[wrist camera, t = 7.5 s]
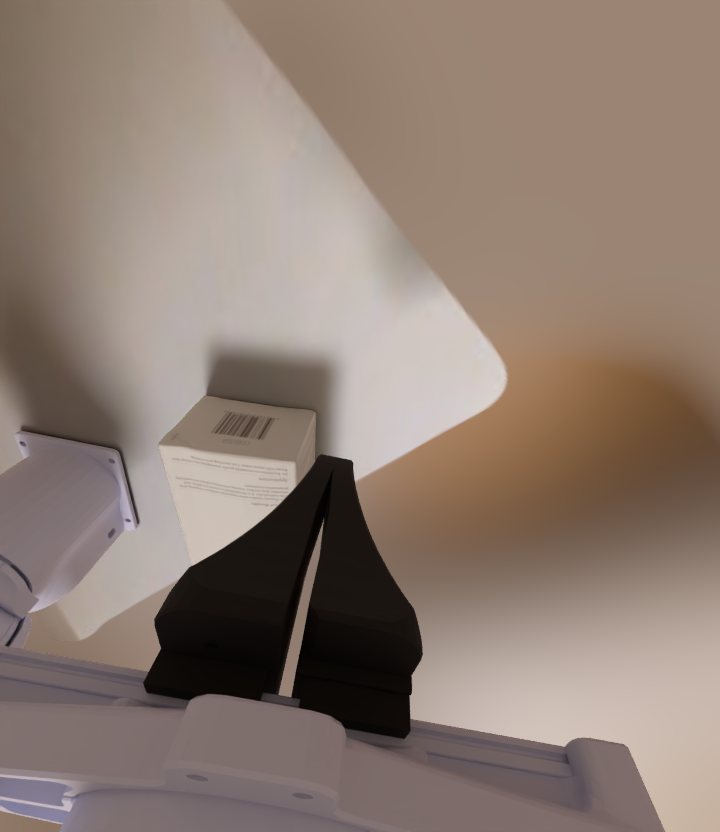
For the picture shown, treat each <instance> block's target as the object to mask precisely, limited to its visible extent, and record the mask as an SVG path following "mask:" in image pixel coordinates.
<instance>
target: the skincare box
mask: <svg viewBox="0 0 720 832" xmlns="http://www.w3.org/2000/svg"><path fill="white" fill-rule="evenodd" d="M315 438H316V412H314V411H312V410H307V409H295V408H285V407H275V406H268V405H262V404H255V403H249V402H242V401H235V400H228V399H222V398H219V397H212V396H204V397H203V398H202V399H201V400H200V401H199V402H198V403H197V404H196V405H195V406H194V407H193V408H192V409H191V410H190V411H189V412H188V413H187V414H186V416H185V417H184V418H183V419H182V420H181V421H180V422H179V423H178V424H177V425H176V426H175V427H174V428H173V429H172V430H171V431H170V432H169V433H168V434H167V435H165V436H164V438H163V439H162V440H161V441H160V442H159V444H158V447H159V450H160V454H161V458H162V461H163V465H164V468H165V472H166V476H167V479H168V483H169V486H170V489H171V493H172V497H173V500H174V504H175V507H176V511H177V515H178V518H179V522H180V526H181V529H182V533H183V537H184V540H185V544H186V548H187V551H188V555H189V559H190V562H191V566H193V565H195V564H196V563H198V562H200V561H202V560H203V559H205V558H207V557H209V556H210V555H212V554H214V553H216V552H217V551H219V550H221V549H222V548H224V547H225V546H227V545H228V544H230V543H231V542H233V541H234V540H236V539H237V538H239V537H240V536H242V535H243V534H244V533H246V532H247V531H248V530H250V529H251V528H252V527H254V526H255V525H256V524H257V523H259V522H260V521H261V520H262V519H264V518H265V517H266V516H267V515H268V514H269V513H270V512H272V511H273V510H274V509H275V508H276V507H277V506H278V505H279V504H280V503H281V502H282V501H283V500H284V499H285V498H286V497H287V496H288V495H289V494H290V493H291V492H292V491H293V490H294V488H295V487H296V486H297V485H298V484H299V483H300V481H301V480H302V479H303V478H304V476H305V475H306V474H307V473H308V471H309V470H310V468H311V467H312V466H313V464H314V462H315ZM306 573H307V572H306ZM305 577H306V576H305ZM304 581H305V580H304ZM303 586H304V584H303ZM302 590H303V588H302ZM301 594H302V592H301ZM300 598H301V597H300ZM299 603H300V601H299Z"/></svg>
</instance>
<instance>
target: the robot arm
mask: <svg viewBox="0 0 720 832" xmlns="http://www.w3.org/2000/svg"><path fill="white" fill-rule="evenodd" d="M14 437H15V439H16V442H17V444H18V446H19V448H20V451H21V453H22V455H23V457H24V460H22V461H21V462H19V463H18V464H16V465H14V466H13V467H11V468H10V469H8V470H7V471H5V472H4V473H2V474H1V475H0V811H4V812H8V813H13V814H17V815H22V816H27V817H31V818H36V819H40V820H45V821H50V822H54V823H59V824H63V825H62V827H61V828H60V831H59V832H665V830H664V828H663V826H662V824H661V821H660V819H659V817H658V815H657V812H656V810H655V808H654V805H653V803H652V801H651V799H650V797H649V794H648V792H647V790H646V787H645V785H644V783H643V781H642V778H641V776H640V774H639V772H638V769H637V767H636V765H635V762H634V760H633V758H632V756H631V753H630V751H629V749H628V747H626V746H625V745H624V744H619V743H614V742H608V741H603V740H597V739H591V738H577V739H574V740H572V741H570V742H569V743H568V744H567V745H566V746H565V747H562V746H557V745H551V744H546V743H540V742H535V741H529V740H524V739H518V738H513V737H507V736H502V735H496V734H491V733H485V732H479V731H474V730H468V729H463V728H457V727H451V726H446V725H440V724H435V723H430V722H424V721H418V720H413V719H410V701H409V700H410V698H409V695H411V693H412V677H411V675H412V674H413V672H414V671H415V669H416V667H417V666H418V664H419V662H420V661H421V658H422V655H423V653H422V641H421V635H420V630H419V626H418V621H417V618H416V614H415V611H414V609H413V607H412V606H411V604H410V603H409V602H408V600H407V599H406V597H405V596H404V594H403V593H402V592H401V590H400V588H399V587H398V585H397V584H396V582H395V581H394V579H393V577H392V576H391V574H390V572H389V570H388V569H387V567H386V565H385V563H384V561H383V559H382V557H381V556H380V554H379V552H378V550H377V548H376V545H375V543H374V541H373V539H372V537H371V534H370V532H369V529H368V527H367V524H366V521H365V519H364V516H363V512H362V510H361V506H360V503H359V499H358V495H357V491H356V486H355V480H354V473H353V462H352V461H351V460H347V459H342V458H337V457H332V456H327V455H322V454H321V455H319V456H318V457H317V459H316V461H315V462H314V464H313V466H312V467H311V468H310V470H309V471H308V473H307V474H306V475H305V476H304V478H303V479H302V480H301V481H300V483H299V484H298V485H297V486H296V487H295V488H294V490H293V491H292V492H291V493H290V494H289V495H288V496H287V497H286V498H285V499H284V500H283V501H282V502H281V503H280V504H279V505H278V506H277V507H276V508H275V509H274V510H273V511H272V512H270V513H269V514H268V515H267V516H266V517H265V518H264V519H262V520H261V521H260V522H259V523H257V524H256V525H255V526H254V527H252V528H251V529H250V530H248V531H247V532H246V533H244V534H243V535H242V536H240V537H239V538H237V539H236V540H234V541H233V542H231V543H230V544H228V545H227V546H225V547H224V548H222V549H221V550H219V551H217V552H216V553H214V554H212V555H210V556H209V557H207V558H205V559H203V560H202V561H200V562H198V563H196V564H195V565H193V566H191V567H189V568H188V570H187V571H186V572H185V573H184V574H183V576H182V577H181V578H180V579H179V581H178V582H177V584H176V585H175V586H174V587H173V589H172V590H171V592H170V593H169V595H168V596H167V598H166V600H165V602H164V603H163V605H162V607H161V609H160V610H159V612H158V614H157V616H156V617H155V619H154V620H155V629H156V632H157V636H158V639H159V643H160V646H161V650H160V652H159V654H158V656H157V657H156V659H155V661H154V663H153V665H152V667H151V669H150V671H149V672H147V671H141V670H136V669H130V668H125V667H120V666H114V665H108V664H103V663H97V662H92V661H86V660H81V659H75V658H70V657H64V656H59V655H53V654H48V653H42V652H36V651H31V650H26V649H22V648H23V647H24V645H25V642H26V640H27V637H28V633H29V631H30V628H31V623H32V621H31V618H30V616H28V615H27V613H30V612H34V611H37V610H40V609H43V608H45V607H47V606H49V605H51V604H53V603H55V602H56V601H58V600H60V599H61V598H63V597H64V596H65V595H67V594H68V593H69V592H71V591H72V590H73V589H74V588H75V587H76V586H77V585H78V584H79V583H80V581H81V580H82V579H83V578H84V577H85V576H86V574H87V573H88V572H89V571H90V570H91V568H92V567H93V566H94V565H95V564H96V563H97V561H98V560H99V559H100V558H101V557H102V555H103V554H104V553H105V552H106V551H107V550H108V548H109V547H110V546H111V545H112V544H113V543H114V541H115V540H116V539H117V538H118V537H119V535H120V534H121V533H122V532H123V531H124V530H129V531H135V530H136V528H137V527H138V525H137V521H136V517H135V513H134V509H133V505H132V501H131V497H130V493H129V489H128V485H127V481H126V477H125V473H124V469H123V465H122V461H121V457H120V454H119V452H118V451H117V450H115V449H112V448H107V447H102V446H96V445H91V444H86V443H81V442H76V441H71V440H66V439H61V438H56V437H50V436H45V435H40V434H35V433H30V432H25V431H19V432H17V433H16V434H15V435H14ZM323 520H324V524H323V532H322V541H321V550H320V558H319V562H318V566H317V571H316V575H315V580H314V584H313V589H312V593H311V598H310V602H309V607H308V612H307V618H306V624H305V629H304V635H303V640H302V645H301V650H300V654H299V659H298V664H297V669H296V674H295V680H294V686H293V691H292V697H286V696H280V695H278V693H279V689H280V685H281V680H282V676H283V671H284V667H285V662H286V658H287V653H288V649H289V645H290V640H291V635H292V631H293V627H294V623H295V618H296V614H297V609H298V605H299V601H300V597H301V592H302V588H303V584H304V580H305V576H306V572H307V569H308V565H309V562H310V559H311V556H312V553H313V550H314V547H315V544H316V541H317V538H318V535H319V532H320V529H321V526H322V523H323Z"/></svg>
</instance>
